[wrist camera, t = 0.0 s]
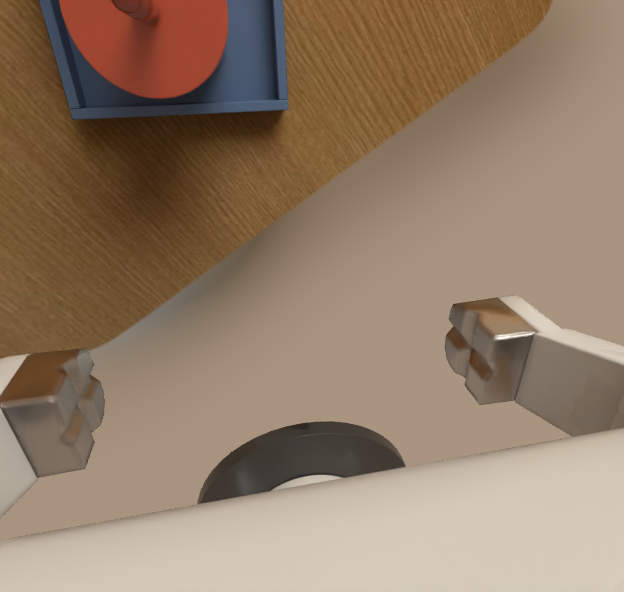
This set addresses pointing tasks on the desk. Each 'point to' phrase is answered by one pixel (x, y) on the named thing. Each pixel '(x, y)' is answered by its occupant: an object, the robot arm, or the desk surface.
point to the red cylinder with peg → (150, 42)
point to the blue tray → (204, 99)
